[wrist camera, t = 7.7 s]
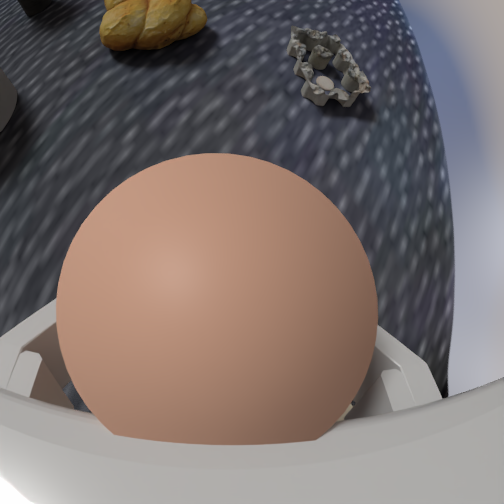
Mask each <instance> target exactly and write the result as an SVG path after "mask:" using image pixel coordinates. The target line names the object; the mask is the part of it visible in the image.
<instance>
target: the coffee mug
mask: <svg viewBox="0 0 504 504" xmlns="http://www.w3.org/2000/svg"><path fill="white" fill-rule="evenodd" d="M16 102H17V91H16V89H15V87H14V86H13V84H12V83H11V82H10V80H9V79H8V78H7V76H6V75H5V73H4V72H3V71H2V69H1V68H0V132H1V131H2V130H3V128H4V127H5V126H6V124H7V123H8V121H9V119H10V118H11V116H12V114H13V111H14V109H15V106H16Z"/></svg>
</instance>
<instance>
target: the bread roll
mask: <svg viewBox="0 0 504 504" xmlns="http://www.w3.org/2000/svg"><path fill="white" fill-rule="evenodd" d="M104 2H105V6H106V9H107V12H106V13H105V15H104V16H103V20H102V23H101V26H100V33H99V34H100V37H101V41H102V43H103V45H104V46H106V47H108V48H110V49H112V50H115V51H124V50H128V49H130V48H134V49H140V50H150V49H161V48H163V47H165V46H167V45H169V44H171V43H172V42H174V41H175V40H182V39H186V38H188V37H190V36H192V35H194V34H196V33H197V32H199V31H200V30H201V29H202V28H204V26H205V24H206V22H207V16H206V13H205V11H204V10H203V9H202V8H201V7H199V6H198V5H196V4H192V3H191V0H104Z"/></svg>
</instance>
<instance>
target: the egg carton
mask: <svg viewBox="0 0 504 504" xmlns="http://www.w3.org/2000/svg"><path fill="white" fill-rule="evenodd" d="M324 47H325V48H324ZM306 50H308V51H312V52H311V55H310V57H309V59H308V63H307V62H303V63H302V60H303V58H304V55H305V54H306ZM287 53H288V55H291V56H294V57H296V58H297V62H296V64H295V67H294V72H295V75H298V76H301V77H303V78H304V79H306V82H305V83H304V85H303V87H302V89H301V93H302V96H303V97H305V98H309V99H311V100H312V101H313V102H314V103H315V104H316V105H319V106H324V105H325V103H326V101H327V100H328V98H333V99H336V100H337V101H339V102H340V103H341V105H342V106H344V107H350V106H351V104H352V103H353V102H354V101H355V99H356V98H357V96H358V95H359V93H364V92H370V89H371V87H370V86H369V81H368V80H367V78H366V75H365V74H364V73H363V71H361V72H360V71H359V68H358V65H357V64H355V62H354V60H353V58H352V55H351V54H350V53H349V51H348V50H347V49H346V48H345V47H344V46H343V45H341V44H340V38H339V37H338V36H337V35H333V36H330V35H327V32H326V31H324V32H319V31H317V30H311V29H308V28H306V29H301V28H298V27H295V26H291V40H290V42H289V45H288V47H287ZM332 53H334V54H335V55H336V57H335V58H334V60H333V65H334V67H335V68H336V69H337V70H339V71H342V72H343V74H344V77H343V79H342V81H341V84H342V86H343V87H344V88H345V89H346V90H347V91H349V92H352V94H351V95H350V96H349V95H348V94H347V93H346V92H345V91H343V90H341V89H338V88H335V89H333V88H334V83H333V82H332V81H331V80H330V79H329V78H327V77H324V76H320V77H318V78H317V79H316V83H317V85H318V86H317V85H315V84H312V83H311V82H310V81H311V79H312V77H313V76H314V72H313V70H312V67H313V68H315V69H318V70H323V69H325V67H326V66H327V64H328V62H329V60H330V59H331V57H332V56H333V54H332ZM322 89H323V90H322ZM324 90H326V91H331V92H330V93H329V95H326V94H325V91H324Z"/></svg>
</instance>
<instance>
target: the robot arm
mask: <svg viewBox="0 0 504 504" xmlns="http://www.w3.org/2000/svg"><path fill="white" fill-rule="evenodd" d="M56 300H57V298H56V299H55V300H53V301H52V302H50V303H49V304H47V305H46V306H44V307H43V308H41V309H40V310H38V311H37V312H36V313H34V314H33V315H31V316H30V317H28V318H27V319H25V320H24V321H23V322H21V323H20V324H18V325H17V326H16V327H14V328H13V329H11V330H10V331H9V332H7V333H6V334H4V335H3V336H2V337H0V504H504V377H503V378H501V379H498V380H496V381H493V382H491V383H488V384H485V385H483V386H480V387H477V388H475V389H472V390H469V391H466V392H463V393H460V394H457V395H454V396H450V397H447V398H444V399H442V397H441V394H440V392H439V390H438V388H437V385H436V383H435V381H434V379H433V376H432V374H431V372H430V370H429V368H428V366H427V364H426V362H424V361H423V360H422V359H420V358H419V357H418V356H417V355H415V354H414V353H413V352H412V351H410V350H409V349H408V348H407V347H405V346H404V345H403V344H402V343H400V342H399V341H398V340H396V339H395V338H394V337H393V336H391V335H390V334H389V333H388V332H386V331H385V330H384V329H382V328H381V327H380V326H379V325H377V336H376V342H375V347H374V351H373V356H372V360H371V362H370V365H369V368H368V371H367V374H366V376H365V379H364V381H363V383H362V385H361V387H360V388H359V390H358V392H357V394H356V396H355V398H354V399H353V400H354V401H355V402H356V404H355V405H354V406H353V408H352V409H351V410H350V411H349V412H348V413H347V414H346V416H345V417H344V420H342V421H336V422H335V423H334V424H333V425H332V427H331V428H330V429H328V430H327V431H326V432H325V433H324V434H323V435H321V436H320V437H319V438H318V439H317V440H314V441H305V442H294V443H282V444H264V445H202V444H184V443H172V442H161V441H152V440H144V439H137V438H130V437H124V436H118V435H114V434H113V433H112V432H110V431H109V430H108V429H107V428H106V427H105V426H104V425H103V424H102V423H101V422H100V421H99V420H98V419H97V418H96V416H95V415H94V414H92V413H88V412H83V411H78V410H74V406H73V405H72V403H71V402H70V400H69V399H68V397H67V396H66V395H65V393H64V392H63V390H62V389H63V388H64V387H65V386H66V385H67V384H68V383H69V381H70V380H71V377H70V375H69V373H68V371H67V369H66V365H65V362H64V359H63V356H62V353H61V349H60V344H59V339H58V332H57V324H56Z"/></svg>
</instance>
